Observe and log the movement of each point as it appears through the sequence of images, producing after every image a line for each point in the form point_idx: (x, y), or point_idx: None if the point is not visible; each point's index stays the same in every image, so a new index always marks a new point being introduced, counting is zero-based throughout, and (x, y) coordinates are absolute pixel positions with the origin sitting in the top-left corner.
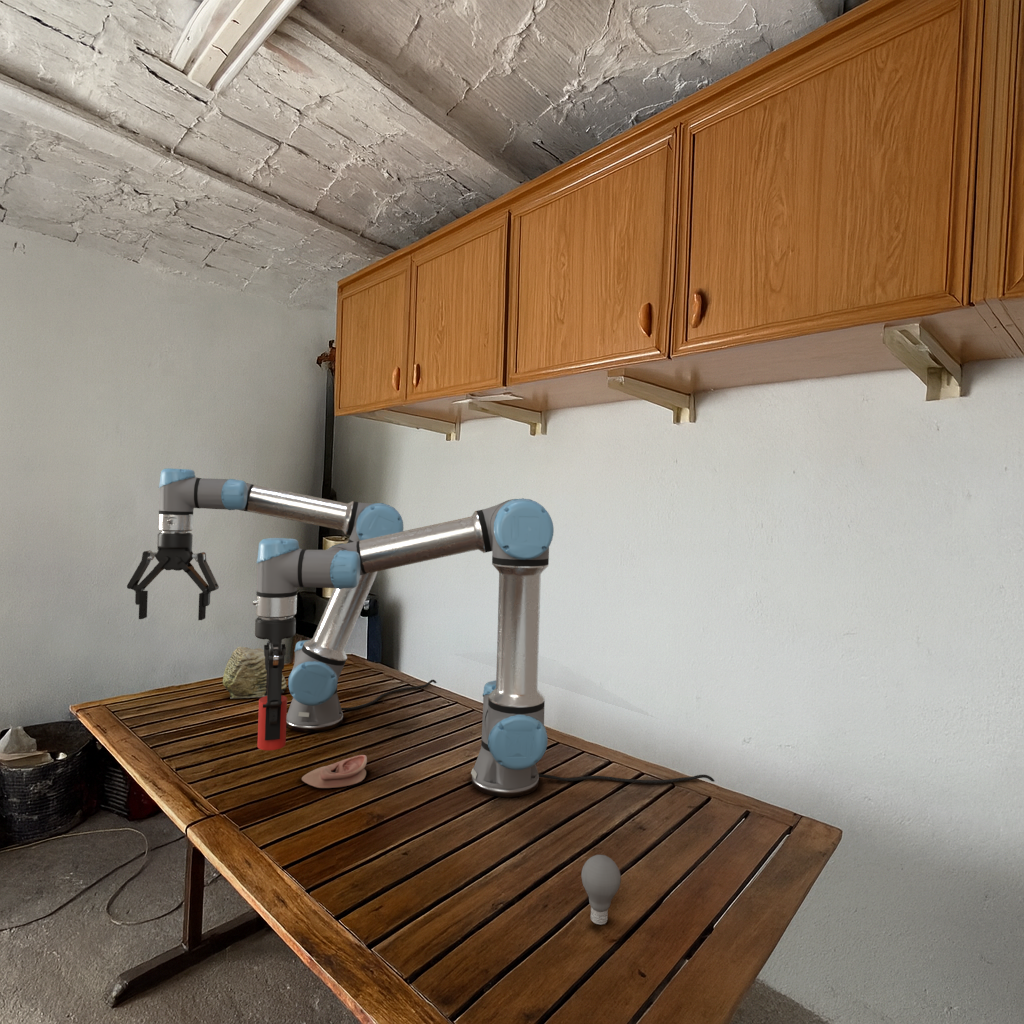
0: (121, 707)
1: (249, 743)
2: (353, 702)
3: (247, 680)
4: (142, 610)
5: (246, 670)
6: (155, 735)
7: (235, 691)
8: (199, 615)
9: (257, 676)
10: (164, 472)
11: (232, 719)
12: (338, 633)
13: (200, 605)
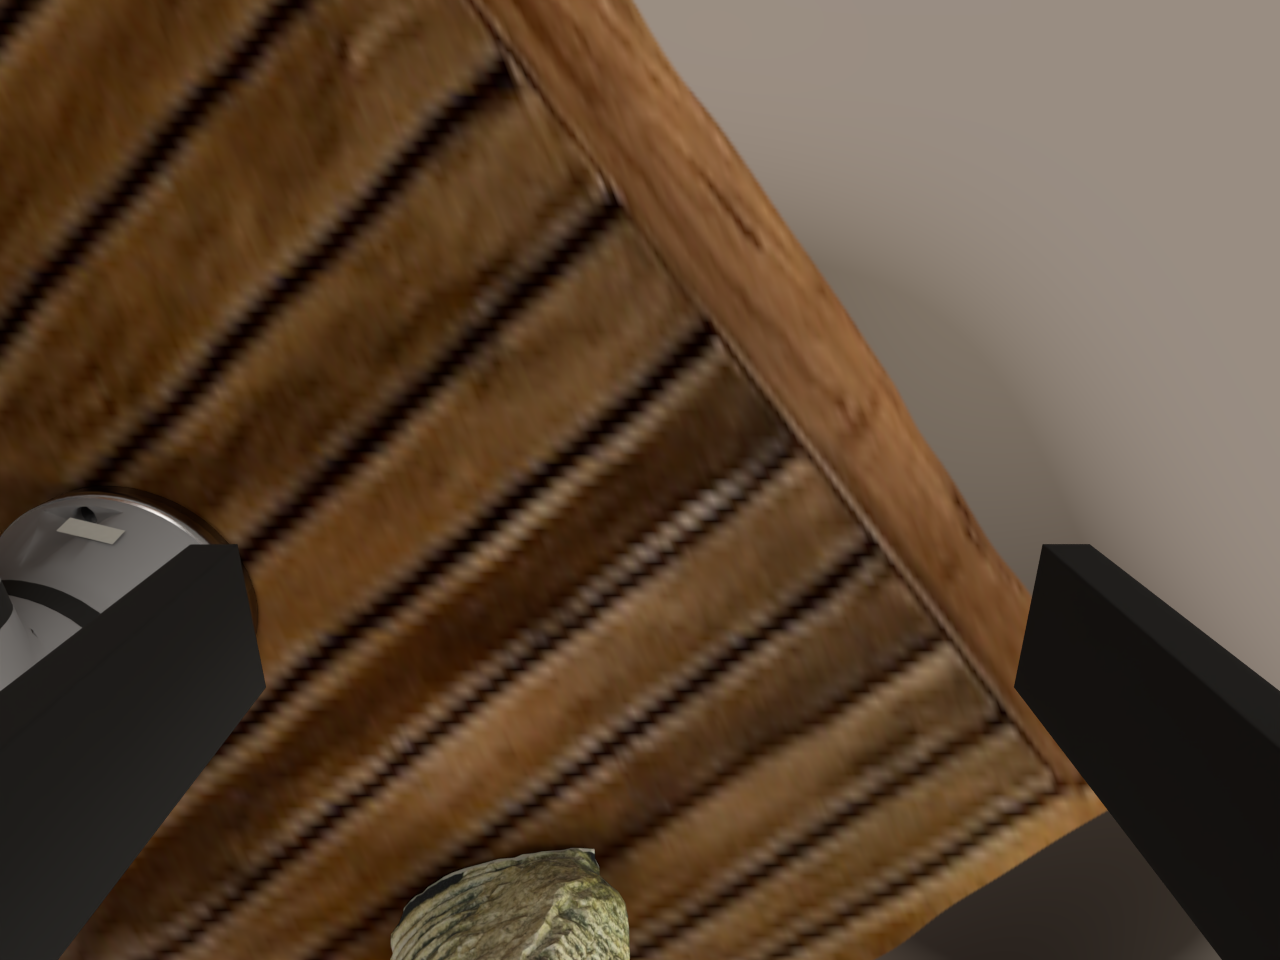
0: (989, 761)
1: (316, 369)
2: None
3: (509, 908)
4: (1117, 622)
5: (505, 949)
6: (745, 464)
7: (564, 864)
8: (182, 580)
9: (467, 934)
10: None
11: (498, 635)
12: None
13: (45, 675)
